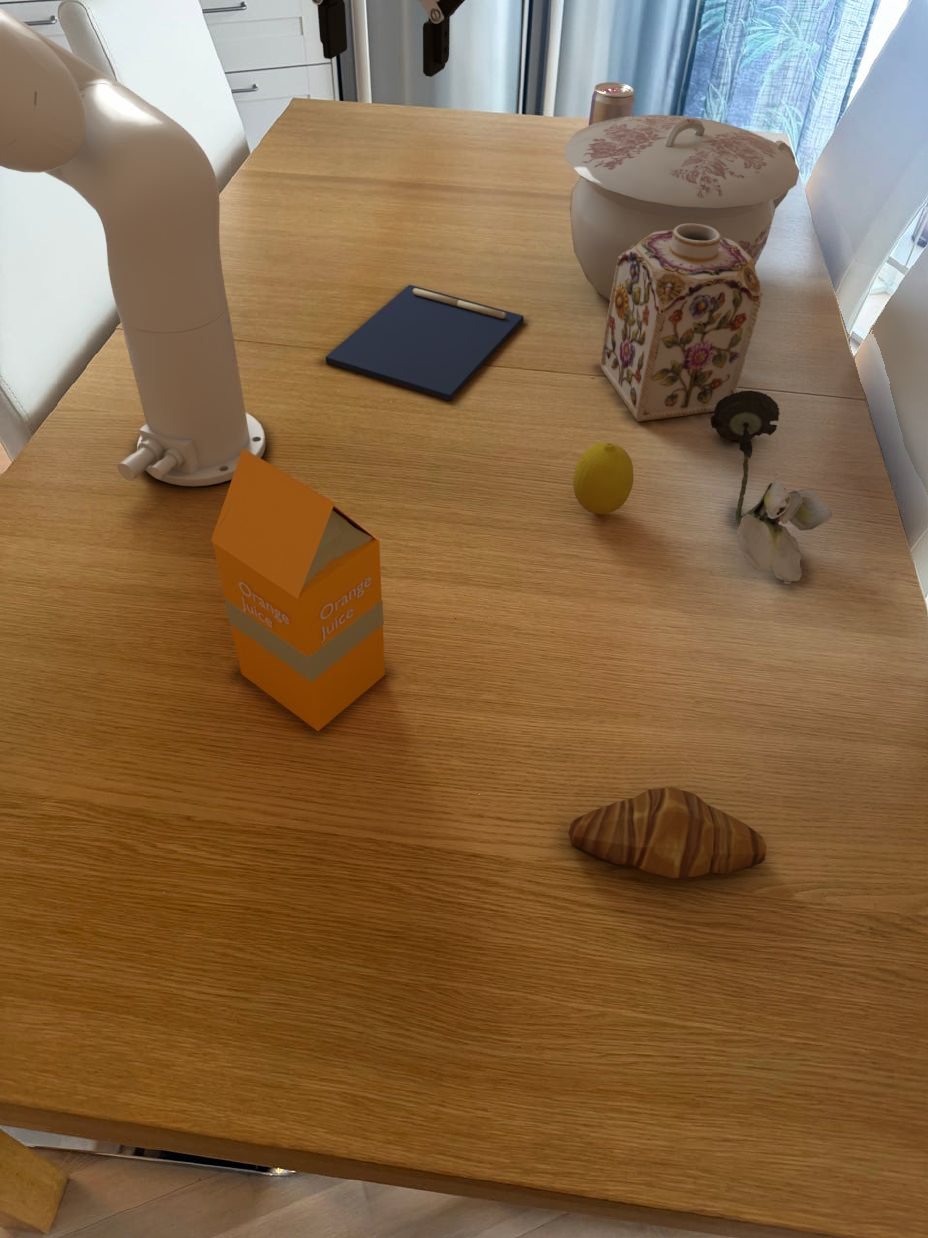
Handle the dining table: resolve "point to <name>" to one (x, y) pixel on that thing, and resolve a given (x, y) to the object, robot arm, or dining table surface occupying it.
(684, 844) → the croissant
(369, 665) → the orange juice
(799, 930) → the dining table surface
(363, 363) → the clipboard
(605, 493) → the lemon
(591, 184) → the chamber pot
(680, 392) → the decorative jar
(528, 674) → the dining table surface
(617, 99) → the beverage can
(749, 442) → the artificial flower
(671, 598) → the dining table surface
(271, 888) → the dining table surface
